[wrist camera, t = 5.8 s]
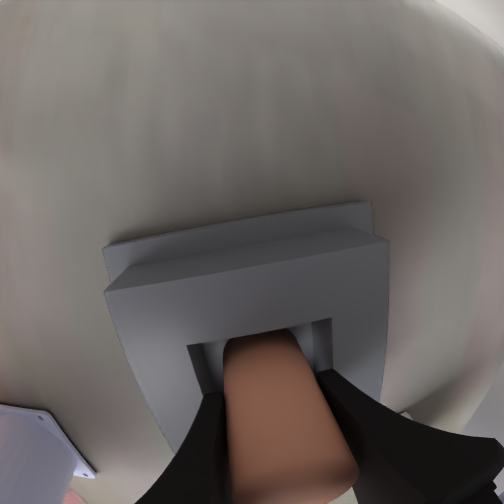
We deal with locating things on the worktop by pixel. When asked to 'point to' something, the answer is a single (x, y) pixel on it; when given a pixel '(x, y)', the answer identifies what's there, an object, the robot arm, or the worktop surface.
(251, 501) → the peg
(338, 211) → the socket block
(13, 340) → the worktop surface
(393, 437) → the robot arm
